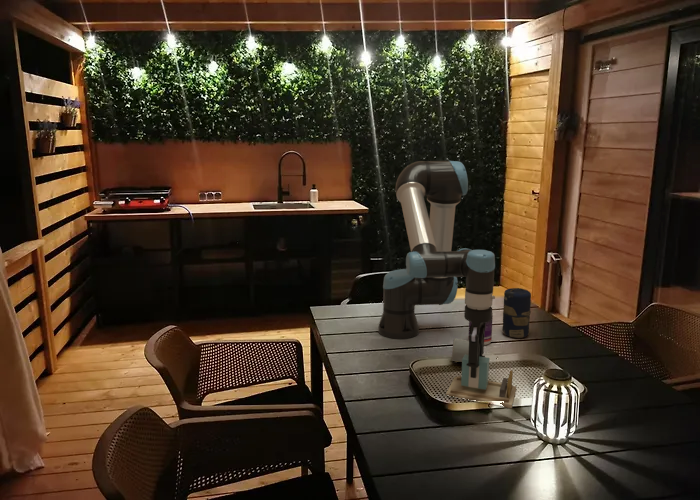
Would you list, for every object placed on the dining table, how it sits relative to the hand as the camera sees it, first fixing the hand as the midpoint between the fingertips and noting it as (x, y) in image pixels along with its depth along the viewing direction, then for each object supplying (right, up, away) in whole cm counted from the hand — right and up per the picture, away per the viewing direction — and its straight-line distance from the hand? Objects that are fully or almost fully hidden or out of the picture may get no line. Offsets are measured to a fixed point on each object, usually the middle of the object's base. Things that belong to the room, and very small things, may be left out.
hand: (474, 383), depth 159 cm
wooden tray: (+2, -3, 0) cm, 3 cm away
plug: (0, 0, 0) cm, 0 cm away
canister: (+25, +7, +46) cm, 53 cm away
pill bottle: (+10, +5, +39) cm, 41 cm away
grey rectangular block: (+2, +2, +23) cm, 23 cm away
